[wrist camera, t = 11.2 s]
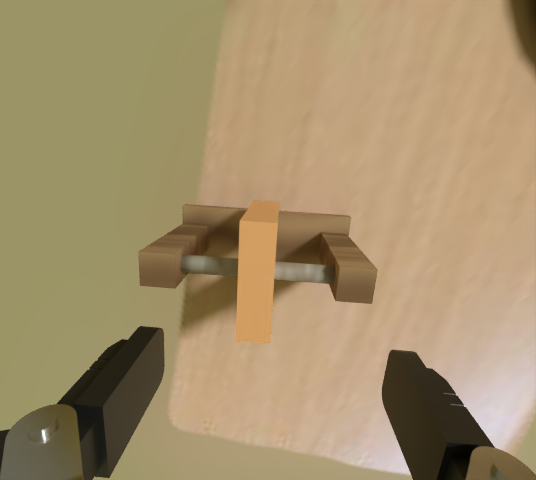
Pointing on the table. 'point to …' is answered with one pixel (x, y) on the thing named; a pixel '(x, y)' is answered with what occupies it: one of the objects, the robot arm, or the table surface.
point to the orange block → (256, 271)
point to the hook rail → (287, 251)
